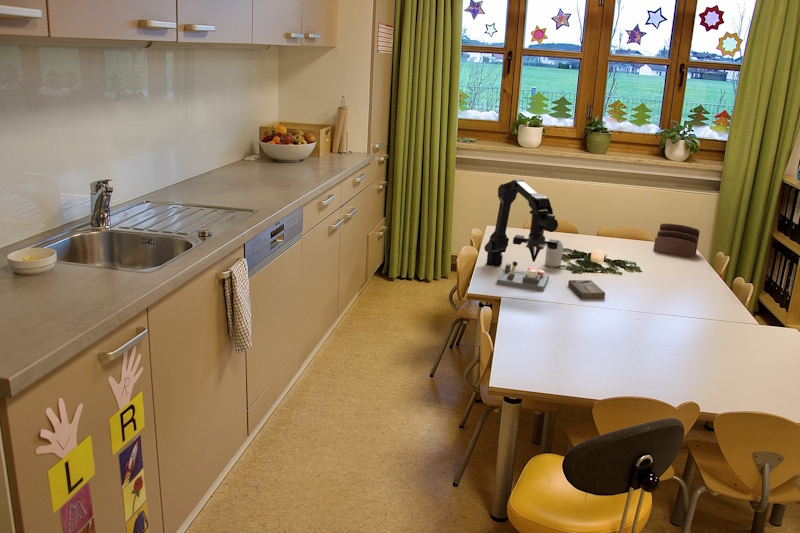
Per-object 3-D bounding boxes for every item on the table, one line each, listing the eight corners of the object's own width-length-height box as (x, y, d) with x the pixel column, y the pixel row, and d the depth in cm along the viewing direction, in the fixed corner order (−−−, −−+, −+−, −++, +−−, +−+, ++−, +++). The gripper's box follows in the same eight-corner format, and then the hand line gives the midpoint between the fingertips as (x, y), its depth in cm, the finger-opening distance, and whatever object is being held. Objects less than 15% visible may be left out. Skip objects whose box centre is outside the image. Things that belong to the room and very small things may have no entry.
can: (560, 268, 350) (563, 243, 347) (544, 266, 352) (547, 242, 348) (560, 263, 358) (563, 239, 354) (544, 262, 359) (547, 238, 355)
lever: (508, 277, 325) (512, 261, 323) (509, 275, 327) (513, 259, 325) (512, 278, 325) (517, 262, 322) (513, 277, 327) (518, 261, 324)
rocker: (527, 271, 330) (528, 267, 330) (528, 268, 334) (529, 265, 333) (542, 276, 329) (543, 273, 328) (543, 274, 332) (544, 270, 332)
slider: (504, 271, 334) (505, 265, 333) (506, 269, 337) (506, 263, 336) (509, 271, 334) (510, 265, 333) (510, 270, 336) (511, 264, 335)
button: (525, 280, 322) (526, 271, 321) (527, 277, 326) (528, 268, 325) (535, 281, 321) (536, 273, 320) (537, 278, 325) (538, 270, 324)
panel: (495, 283, 324) (496, 274, 322) (503, 272, 340) (504, 263, 339) (543, 291, 318) (544, 281, 317) (548, 278, 334) (549, 269, 333)
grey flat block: (580, 300, 311) (581, 293, 310) (567, 286, 327) (568, 279, 326) (605, 300, 312) (606, 293, 311) (590, 286, 329) (591, 279, 328)
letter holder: (656, 247, 397) (661, 221, 392) (696, 254, 388) (700, 227, 383) (652, 251, 388) (657, 225, 384) (692, 258, 379) (697, 231, 375)
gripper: (512, 227, 311) (508, 263, 316) (557, 233, 306) (553, 269, 311) (516, 221, 322) (513, 256, 326) (560, 227, 316) (556, 262, 321)
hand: (533, 261), depth 321 cm, fingers closed
